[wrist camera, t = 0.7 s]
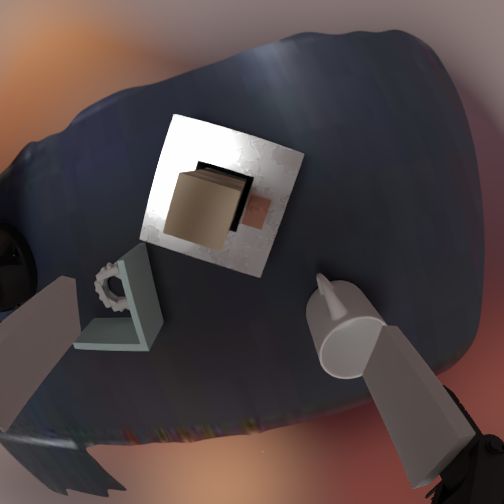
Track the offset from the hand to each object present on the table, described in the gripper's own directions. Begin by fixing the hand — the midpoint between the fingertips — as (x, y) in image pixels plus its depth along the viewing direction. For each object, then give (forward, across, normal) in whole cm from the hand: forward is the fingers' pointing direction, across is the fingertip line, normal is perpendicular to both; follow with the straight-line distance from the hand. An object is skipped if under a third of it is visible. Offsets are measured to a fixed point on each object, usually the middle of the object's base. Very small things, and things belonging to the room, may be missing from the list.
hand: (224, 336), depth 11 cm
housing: (+26, -3, +3) cm, 27 cm away
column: (+26, -3, +3) cm, 27 cm away
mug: (+26, +14, -9) cm, 31 cm away
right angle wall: (+27, -16, -13) cm, 34 cm away
